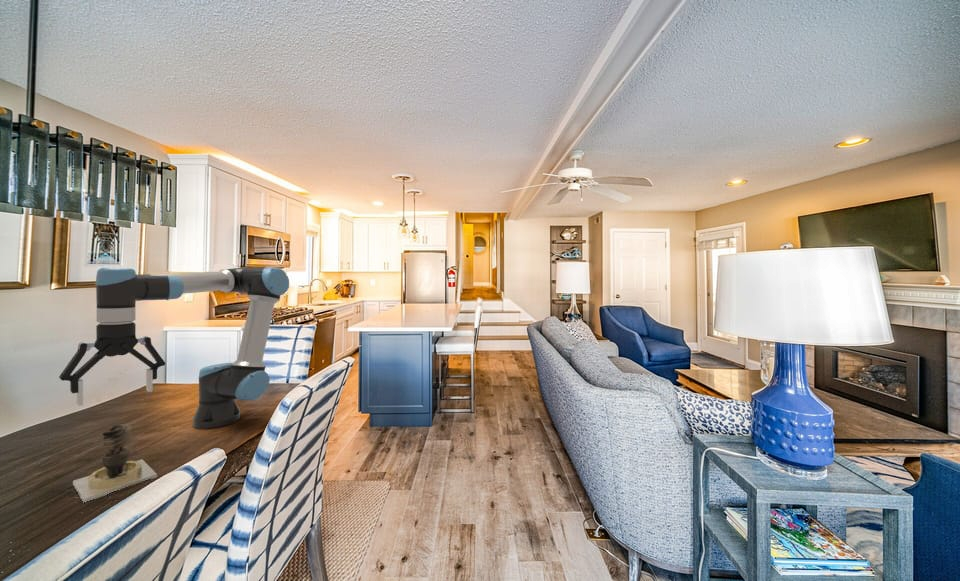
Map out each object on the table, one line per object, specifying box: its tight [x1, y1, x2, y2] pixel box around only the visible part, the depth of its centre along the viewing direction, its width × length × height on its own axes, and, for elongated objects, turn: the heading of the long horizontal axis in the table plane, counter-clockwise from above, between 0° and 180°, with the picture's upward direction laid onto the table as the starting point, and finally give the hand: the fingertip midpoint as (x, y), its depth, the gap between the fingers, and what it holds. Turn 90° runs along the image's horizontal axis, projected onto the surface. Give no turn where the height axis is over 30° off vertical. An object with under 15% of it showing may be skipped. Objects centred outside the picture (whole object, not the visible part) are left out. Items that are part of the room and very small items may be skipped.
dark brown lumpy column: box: [102, 424, 132, 477], centre depth 96 cm, size 6×6×15 cm
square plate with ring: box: [72, 459, 158, 504], centre depth 96 cm, size 14×14×3 cm
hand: (116, 397), depth 96 cm, fingers open, 13 cm apart
